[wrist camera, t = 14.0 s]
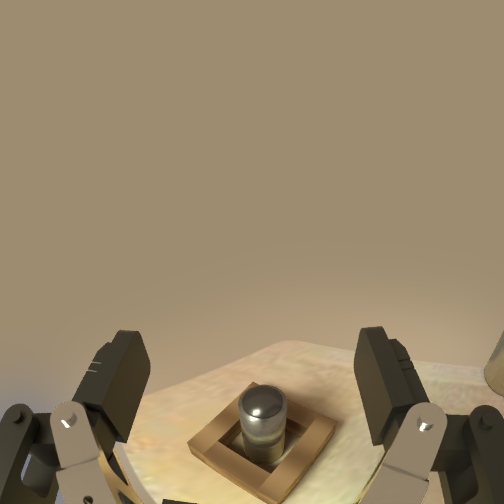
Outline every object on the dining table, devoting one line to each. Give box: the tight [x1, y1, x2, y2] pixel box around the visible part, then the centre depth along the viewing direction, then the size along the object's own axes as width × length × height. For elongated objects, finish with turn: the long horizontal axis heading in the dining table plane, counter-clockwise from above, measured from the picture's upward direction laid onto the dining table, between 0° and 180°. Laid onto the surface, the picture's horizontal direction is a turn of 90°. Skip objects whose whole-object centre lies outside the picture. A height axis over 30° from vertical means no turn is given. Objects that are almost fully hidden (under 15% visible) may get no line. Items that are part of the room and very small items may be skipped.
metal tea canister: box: [238, 385, 287, 464], centre depth 30 cm, size 5×5×10 cm
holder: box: [187, 382, 337, 504], centre depth 32 cm, size 12×12×3 cm
